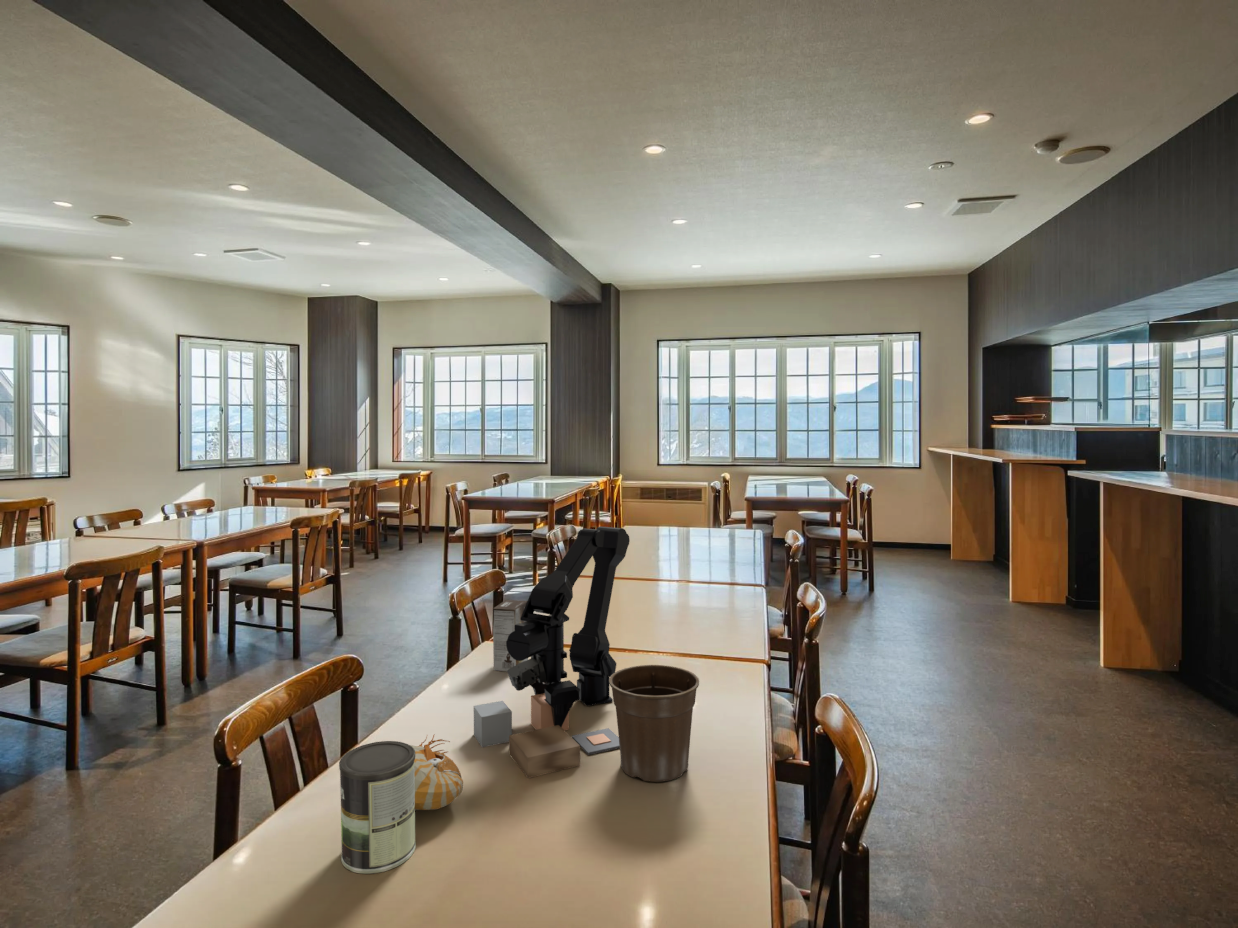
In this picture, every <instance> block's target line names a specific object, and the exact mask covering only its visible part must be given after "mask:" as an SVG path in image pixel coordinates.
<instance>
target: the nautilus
mask: <svg viewBox="0 0 1238 928" xmlns="http://www.w3.org/2000/svg"><path fill="white" fill-rule="evenodd" d="M435 734H436V733H434V734H433V735H432V739H431V740H430V741H428V743H427V744H424V743H425V742H426V741H427V739H428V735H426V737H425V739H424V741H423V742H421V744H419V745H412V744H409V745H410V746H412V747H413V748H414V750H415V760H414V776H415V811H431V810H439V809H442V808H444V807H446V806H448V805H450V804H451V803H452V802H454V801H455V800H456V799H457V798H458V797H459V796H460V795H461V794H462V792H463V790H464V780H463V778H462V774H461V771H460V770H459V769H460V768H458V766H457V764H456V762H454V760H453V759H451V758H450V757H448V756H447V755H446V753H447V754H448V751H444V749H439V750H435V751H433V750H432V749H433V748H435V747H437V746H439V745H445V743H446V742H447V743H450V742H451V741H449V740H445V739H443V738H441V739H435V740H434V737H435ZM436 742H442V743H437V744H435V743H436ZM423 744H424V745H423ZM432 744H435V745H433V746H431V745H432ZM430 746H431V747H430ZM443 751H444V752H443Z"/></svg>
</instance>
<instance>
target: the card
mask: <svg viewBox="0 0 1238 928" xmlns="http://www.w3.org/2000/svg"><path fill="white" fill-rule="evenodd" d="M571 737H572V738H573V739H574V740H575V741H576V742H577V743H578V744H579V745H580V749H582V750H583V752H584V753H585V754H586V755H587V756H591V755H595V754H600V753H604V752H610V751H615V750H617V749H620V745H619V735H617V734H616V733H615V732H614V731H613V730H612V729H610V728H609V727H608V728H607V727H606V728H602V729H598V730H593V731H587V732H583V733H578V734H573V735H571Z"/></svg>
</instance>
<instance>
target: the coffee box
mask: <svg viewBox="0 0 1238 928" xmlns="http://www.w3.org/2000/svg"><path fill="white" fill-rule="evenodd" d="M527 601H528V600H512V599H511V600H510V599H505V600H503V601H502V602H500V603H499V604H498V605H496V606H494V607H493V608H492V639H493V641H492V643H493V649H492V650H493V671H497V672H498V671H500V672H507V671H508V670H509V669H510V668H512V667H514V666H516V665H518V664H519V663H521V662H523V661H527V660H529V658H527V659H524V660H522V661H517V660H515V659H513V658H512V657H511V656H510V654H509V653H508V650H507V647H506V641H507V639H508V636H509V634H510V633H511V632H513V631H515V625H516V624H519V623H524V622H526V621H521V616H522V613H523V611H524V608H525V606H526V604H527Z"/></svg>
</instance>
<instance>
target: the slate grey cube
mask: <svg viewBox="0 0 1238 928" xmlns="http://www.w3.org/2000/svg"><path fill="white" fill-rule="evenodd" d="M509 735H513V711H512V710H511V709H510V707H509V706H508V704H506V702H505V701H503V700H499V701H494V702H487V703H482V704H477V705H476V704H475V705H473V736H474V737H475V739H476V741H477V742H478V744H479V745H480V747H481V748H485V747H491V746H496V745H500V744H504V743H508V742H509Z"/></svg>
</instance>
